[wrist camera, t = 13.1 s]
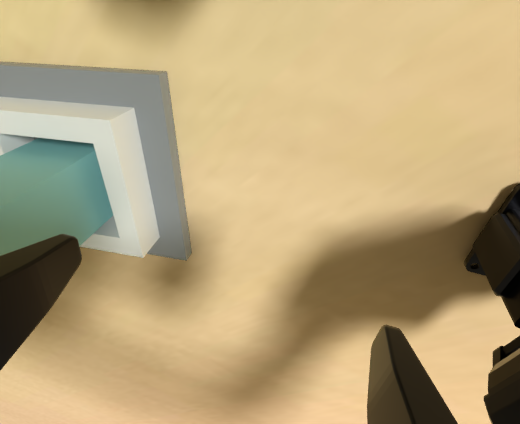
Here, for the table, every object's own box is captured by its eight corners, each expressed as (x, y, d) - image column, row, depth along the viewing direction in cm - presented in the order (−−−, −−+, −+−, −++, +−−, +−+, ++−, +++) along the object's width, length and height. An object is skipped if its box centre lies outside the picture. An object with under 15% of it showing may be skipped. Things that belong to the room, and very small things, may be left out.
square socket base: (166, 71, 20) (135, 84, 17) (191, 252, 28) (172, 282, 25) (-25, 60, 22) (-80, 70, 20) (46, 228, 30) (14, 252, 27)
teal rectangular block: (107, 142, 22) (-115, 277, 12) (123, 205, 25) (-45, 360, 15) (39, 135, 23) (-222, 253, 13) (62, 196, 26) (-138, 335, 16)
